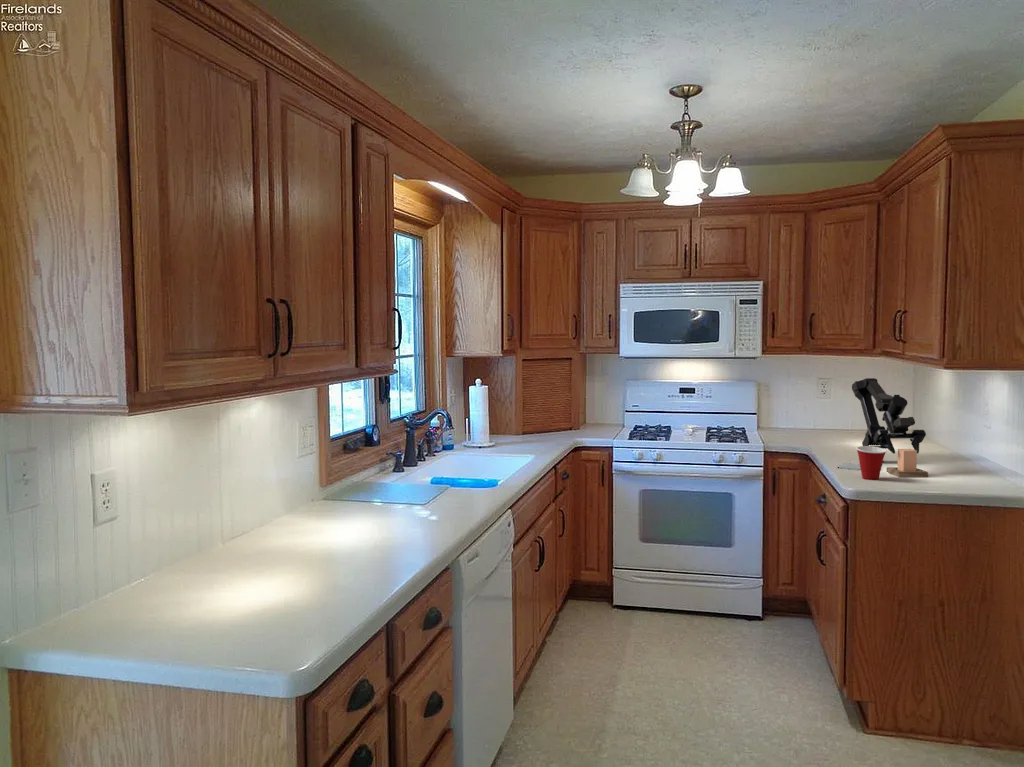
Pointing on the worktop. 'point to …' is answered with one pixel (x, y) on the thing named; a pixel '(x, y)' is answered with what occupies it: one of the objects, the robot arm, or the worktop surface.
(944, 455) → the worktop surface
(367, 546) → the worktop surface
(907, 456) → the terracotta block
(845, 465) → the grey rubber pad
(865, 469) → the plastic cup
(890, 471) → the walnut well board
